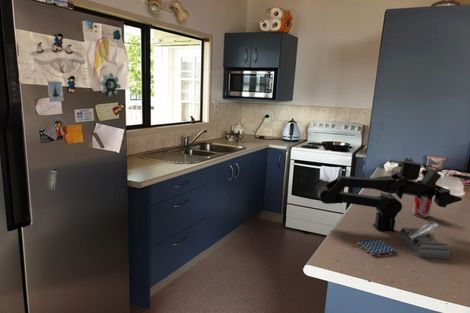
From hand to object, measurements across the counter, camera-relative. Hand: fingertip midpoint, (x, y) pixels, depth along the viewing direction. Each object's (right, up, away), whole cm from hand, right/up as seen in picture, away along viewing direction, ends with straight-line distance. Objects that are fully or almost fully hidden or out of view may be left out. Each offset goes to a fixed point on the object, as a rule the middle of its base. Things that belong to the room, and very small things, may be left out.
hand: (455, 195), depth 137 cm
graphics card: (+16, -2, +79) cm, 80 cm away
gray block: (-19, -12, -12) cm, 25 cm away
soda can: (-1, -12, +23) cm, 26 cm away
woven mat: (-37, -18, -14) cm, 43 cm away
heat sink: (-19, -18, -10) cm, 28 cm away
